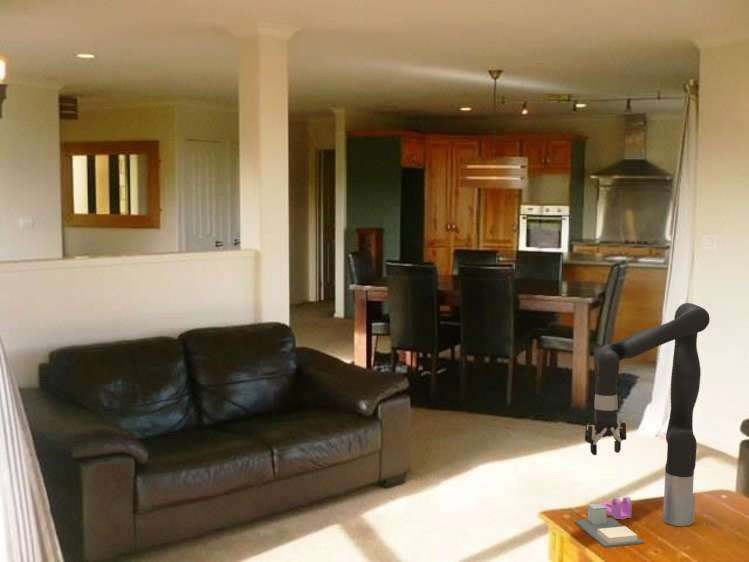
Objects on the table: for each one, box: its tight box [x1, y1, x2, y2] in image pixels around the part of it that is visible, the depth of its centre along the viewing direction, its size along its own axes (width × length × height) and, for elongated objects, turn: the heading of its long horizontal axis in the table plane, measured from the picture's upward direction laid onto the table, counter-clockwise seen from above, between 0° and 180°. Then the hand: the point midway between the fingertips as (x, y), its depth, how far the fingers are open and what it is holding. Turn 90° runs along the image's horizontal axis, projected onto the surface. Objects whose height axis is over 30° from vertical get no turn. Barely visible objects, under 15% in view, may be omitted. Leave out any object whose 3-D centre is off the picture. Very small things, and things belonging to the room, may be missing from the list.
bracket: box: [600, 496, 633, 520], centre depth 301 cm, size 13×6×7 cm, turn 17°
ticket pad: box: [574, 516, 645, 548], centre depth 284 cm, size 14×21×3 cm, turn 14°
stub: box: [587, 502, 608, 525], centre depth 291 cm, size 4×5×6 cm
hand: (605, 453), depth 290 cm, fingers open, 8 cm apart
